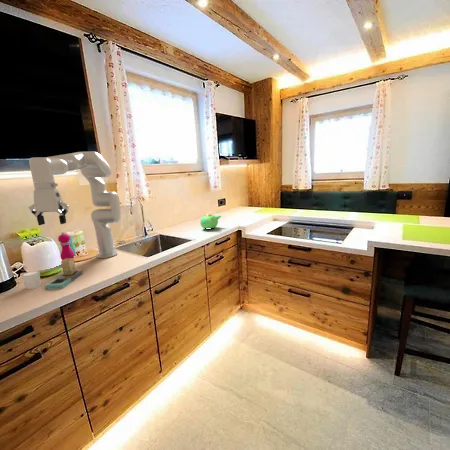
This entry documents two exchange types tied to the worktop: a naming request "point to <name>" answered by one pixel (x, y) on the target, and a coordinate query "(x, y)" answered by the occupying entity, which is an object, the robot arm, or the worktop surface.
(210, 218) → the green teapot
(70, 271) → the nut block
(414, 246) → the worktop surface
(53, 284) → the teal and grey tray
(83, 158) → the robot arm
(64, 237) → the pepper mill
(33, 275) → the white cylinder
